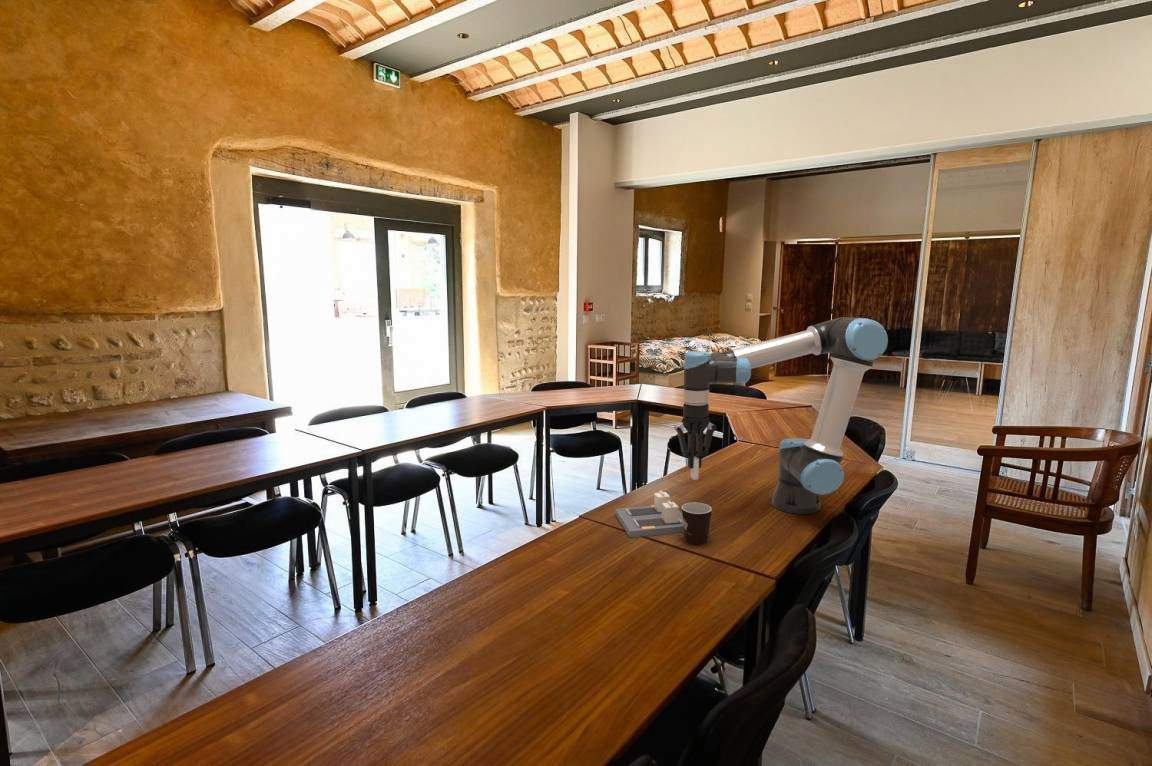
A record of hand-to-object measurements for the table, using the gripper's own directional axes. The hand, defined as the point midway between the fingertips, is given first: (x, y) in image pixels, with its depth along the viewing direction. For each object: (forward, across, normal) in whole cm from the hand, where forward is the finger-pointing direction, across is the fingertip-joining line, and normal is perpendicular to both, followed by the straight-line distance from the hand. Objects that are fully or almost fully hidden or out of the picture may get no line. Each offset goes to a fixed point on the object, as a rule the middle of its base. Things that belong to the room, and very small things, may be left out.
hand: (694, 478), depth 174 cm
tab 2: (+13, +8, 0) cm, 15 cm away
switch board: (+15, +12, -4) cm, 20 cm away
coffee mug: (+16, +3, +9) cm, 18 cm away
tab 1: (+13, +7, -9) cm, 17 cm away
